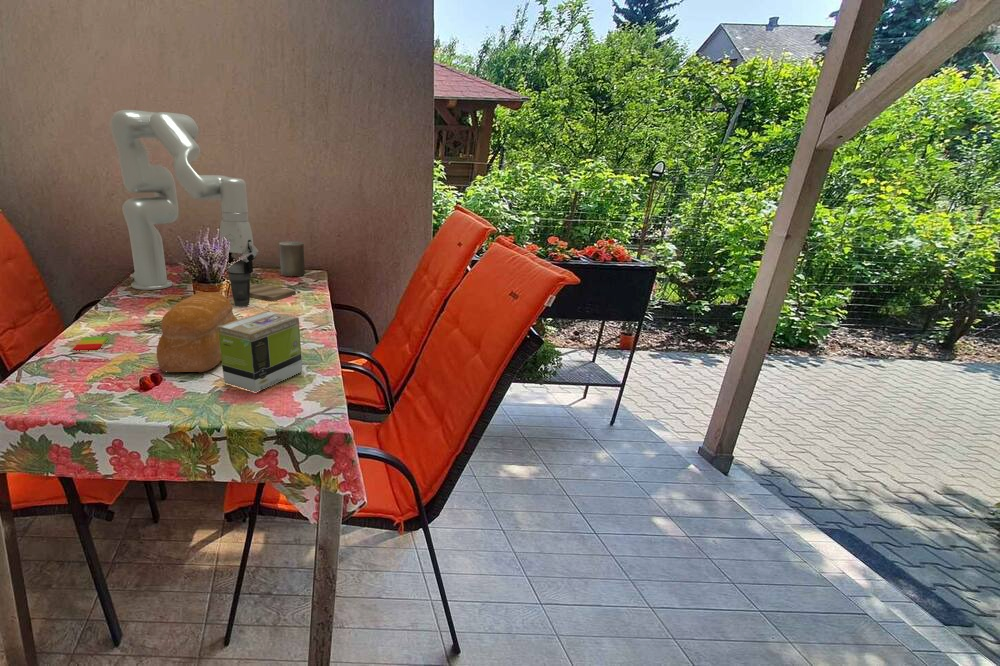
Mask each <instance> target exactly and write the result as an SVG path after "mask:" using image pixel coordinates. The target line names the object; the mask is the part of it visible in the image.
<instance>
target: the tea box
mask: <svg viewBox="0 0 1000 666" xmlns="http://www.w3.org/2000/svg"><path fill="white" fill-rule="evenodd" d="M218 332H219V341H220V350H221V359H222V360H221V365H222V366H221V367H222V376H223V383H224V382H225V383H228V384H231V385H235V386H238V387H241V388H244V389H247V390H250V391H254V392H257V391H259V390H262V389H264V388H266V387H269V386H271V385H273V384H275V383H278V382H280V381H282V380H284V381H286V380H288V379H290V378H292V376H293V377H294V375H295V376H297V375H299V374H301V373H303V362H302V361H303V360H302V345H301V333H300V318H299V317H298V316H293V315H289V314H283V313H278V312H275V311H269V310H267V311H263V312H259V313H257V314H254V315H250V316H248V317H244V318H241V319H237V321H234V322H230V323H227V324H224V325H221V326H218ZM300 372H301V373H300ZM298 373H299V374H298ZM296 374H297V375H296ZM289 377H290V378H289ZM287 378H288V379H287ZM285 379H286V380H285ZM282 382H283V381H282ZM280 383H281V382H280ZM278 384H279V383H278ZM275 385H276V384H275ZM273 386H274V385H273ZM271 387H272V386H271ZM269 388H270V387H269Z"/></svg>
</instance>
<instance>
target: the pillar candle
mask: <svg viewBox="0 0 1000 666" xmlns="http://www.w3.org/2000/svg"><path fill="white" fill-rule="evenodd" d="M278 248H279V261H280V263H279V264H280V265H279V266H280V275H281V276H282V275H284V276H283V277H285V276H291V277H290V278H293V277H292V276H301V277H303V276H302V275H304V274H305V275H306V269H305V253H304V252H305V247H304V242H301V241H293V240H292V239H291V241H281V242H279V246H278ZM305 275H304V276H305Z"/></svg>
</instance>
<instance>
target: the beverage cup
mask: <svg viewBox="0 0 1000 666" xmlns="http://www.w3.org/2000/svg"><path fill="white" fill-rule="evenodd" d="M234 256H235V259H234V261H237V260H240V261H238V262H236V263H235V264H233V265H232V266H231V267H230V268H228V271H226V272H227V276H228V279H229V283H230V288H231V293H232V298H233V303H234V307H237V306H239V308H244V307H243V306H246V307H249V306H250V300H251V297H250V285H251V276H252V273H249V274H245V273H244V262H246V261H245V260H244V259H238V254H235V253H234ZM234 261H232V262H234ZM248 305H249V306H248Z"/></svg>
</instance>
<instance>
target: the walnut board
mask: <svg viewBox="0 0 1000 666" xmlns="http://www.w3.org/2000/svg"><path fill="white" fill-rule="evenodd" d="M296 293H297V292H296V290H293V289H288V288H282V287H278V286H271V285H265V284H261V283H253V284H250V298H252V297H253V298H252V299H257V298H258V300H263V301H268V302H272V301H273V302H277V301H280V300H283V299H286V297H287V298H289V296H290V297H293V296H296V295H295V294H296ZM292 295H293V296H292Z"/></svg>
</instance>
